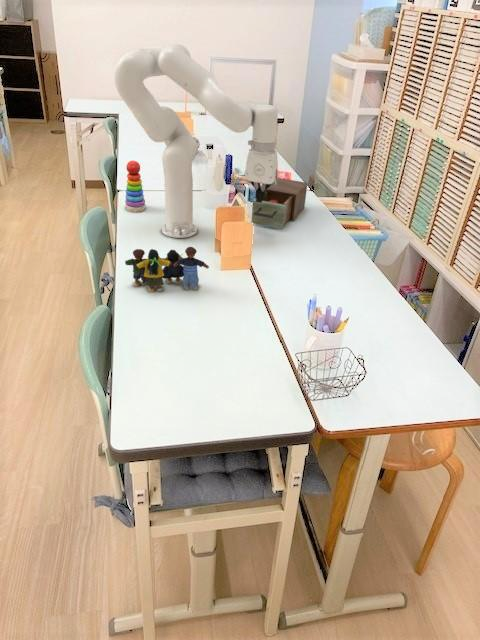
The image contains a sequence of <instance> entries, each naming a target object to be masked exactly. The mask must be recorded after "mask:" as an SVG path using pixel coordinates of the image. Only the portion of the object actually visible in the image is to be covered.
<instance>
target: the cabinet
mask: <svg viewBox="0 0 480 640" xmlns="http://www.w3.org/2000/svg"><path fill="white" fill-rule="evenodd" d="M276 182H277V185H276V186H275V187H268V188H267V189H266V191H269V192H274V193H279V194H285V195H290V196H294V200H293V209H292V216H291V217H290V218H289V219H288V221H289V222H294V221H295V220H296V218H297V217H299V215H300V214H301V213H302V211H303V210H304V209H305V206H306V198H307V189H308V182H306V181H305V182H304V181H301V180H294V179H287V178H281V177H277V180H276Z"/></svg>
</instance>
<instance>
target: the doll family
mask: <svg viewBox="0 0 480 640" xmlns="http://www.w3.org/2000/svg"><path fill="white" fill-rule="evenodd" d="M184 253H185V254H186V256H187V257H183V255H184ZM184 253H181V254H179V252H177V251H176V250H175V249H170V250H169V251H168V252H167V253H166V257H160V254H159V253H158V250H157V249H153V248H151V249H150V250H148V255H147V258H144V256H145V254H146V252H145V250H144V249H141V248H136V249H135V250H133V251H132V255H133V257H134V258H129V259H127V260H125V261H124V263H125V265H126V266H132V274H133V275H132V278H133V279H134V284H133V286H134V287H140V285H141V286H147V289H148V291H149V292H155V290H156V291H157V292H162V291H163V290H164V288H163V286H164V284H165V282H166V283H167V284H170V285H171V284H174V283H175V284H176V285H180V284H181V283H183V285H182V288H183V289H184V290H190V287H191V288H192V290H197V289H198V288H199V287H200V285H199V281H200V278H199V275H198V274H199V273H198V272H199V271H198V267H200V268H202V267H203V268H204V269H206V270H207V269H210V266H209V265H208V264H207V263H205V262H204V261H203V260H201V259H199V258H196V257H195V256H196V254H197V249H196V248H195V247H193V246H188V247H187V248H185V250H184ZM173 278H174V279H175V280H173ZM140 279H141V281H140ZM164 279H165V282H164ZM173 281H174V283H173Z"/></svg>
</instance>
